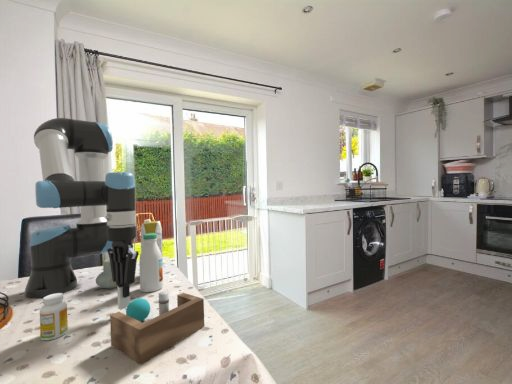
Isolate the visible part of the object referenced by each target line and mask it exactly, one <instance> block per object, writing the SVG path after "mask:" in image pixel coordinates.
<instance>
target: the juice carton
mask: <svg viewBox="0 0 512 384" xmlns="http://www.w3.org/2000/svg"><path fill="white" fill-rule="evenodd" d="M149 233H156V234H157V240H156V242H157V245H158V247H159V249H160V251H161V254H162V268H163V265H164V261H163V260H164V259H163V228H162V223H161V221H160V220H153V221H152V220H151V219H150V218H148V219H144V220H143V222H142V223H141V227H140V250H141V251H142V249H143V246H144V239H143V235H144V234H149ZM141 251H140V252H141Z"/></svg>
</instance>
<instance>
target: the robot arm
mask: <svg viewBox="0 0 512 384" xmlns="http://www.w3.org/2000/svg"><path fill="white" fill-rule="evenodd" d="M33 142H34V144H35V146H36V148H37V149H38V152H39V159H40V160H39V161H40V167H41V175H42V180H41V181H40V180H38V181H37V182H35V188H34V189H35V205H36V206H37V208H41V209H48V208H49V209H58V208H60V209H61V208H76V207H77V208H78V207H80V219H79V220H78V221H76V223H75V224H76V225H75V227H71V226H70V225H69V224H61V225H55V226H50V227H45V228H41V229H37V230H35V231H33V232H32V233H31V234H30V240H29V241H30V243H29V247H30V275H29V277H28V281H27V282H26V286H25V289H24V296H25V297H26V298H30V299H32V298H33V299H37V298H44V297H46V296H48V295H51V294H56V293H63V294H64V293H66V292H70V291H71V290H73V289H75V288H77V286H78V278H77V276H76V274H75V272H74V269H73V267H72V259H76V258H82V257H88V256H94V255H98V256H99V255H102V254H106V253H107V255H108V257H109V258H108V259H110V265H111V272H112V279H113V282H116V285H118V286H117V288H116V289H117V309H118V310H119V311H121V310H124V309H127V307H128V305H129V304H130V303H131V300H130V299H131V298H130V297H131V295H130V292H131V290H130V286H131V285H132V284H134V283H135V279H136V270H137V261H138V257H139V256H140V254H139V251H138V250H136V251H135V250H134V244H133V240H134V239H136V238H137V226H136V225H135V224H136V223H137V215H136V214H137V213H136V212H137V211H136V181H135V175H134V173H131V172H123V171H120V172H119V171H118V172H117V171H115V172H107V173H105V160H106V159H107V158H108V157H109V153H111V152H112V151H113V135H112V132H111V129H110V127H109V126H108V125H107V124H105V123H101V122H96V121H89V120H82V119H81V120H80V119H74V118H73V119H72V118H68V117H67V118H66V117H57V118H51V119H48V120H46V121H45V122H43V123H41V124H40V125H39V126H38V127H37V128H36V130H35V131H34V133H33ZM68 150H73V151H74V152H73V153H74V155H75V156H76V158H78V164H79V167H78V169H79V180H75V175H74V173H73V167H72V163H71V160H70V156H69V152H68Z"/></svg>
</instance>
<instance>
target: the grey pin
mask: <svg viewBox="0 0 512 384" xmlns="http://www.w3.org/2000/svg"><path fill="white" fill-rule="evenodd" d="M169 302H170V296H169V291H165V290H164V291H160V292H159V293H158V316H159V315H161V314H163V313H165V312H168V311H170V306H169V305H170V304H169Z"/></svg>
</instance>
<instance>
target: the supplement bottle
mask: <svg viewBox="0 0 512 384" xmlns="http://www.w3.org/2000/svg"><path fill="white" fill-rule="evenodd" d="M42 304H43V305H42V306H41V308H40V309H39V328H40V330H39V333H40V339H41V341H51V340H52V341H53V340H55V339H59V338H60V337H63V336H64V335H65V334H66V333H67V332H68V330H69V328H68V327H69V323H68V321H69V320H68V303H67V302H66V301H64V292H63V293H56V294H51V295H48V296H46V297H42Z"/></svg>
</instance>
